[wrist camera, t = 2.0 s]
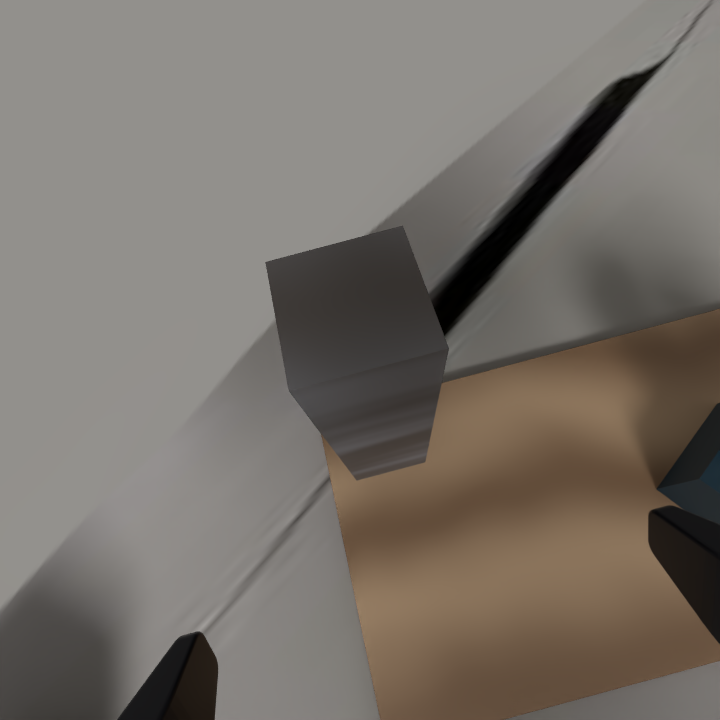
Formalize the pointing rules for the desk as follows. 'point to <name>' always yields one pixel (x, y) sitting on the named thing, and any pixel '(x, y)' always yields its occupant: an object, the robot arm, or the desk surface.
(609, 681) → the pull board
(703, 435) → the watch
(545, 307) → the desk surface
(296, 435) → the desk surface
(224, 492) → the desk surface
